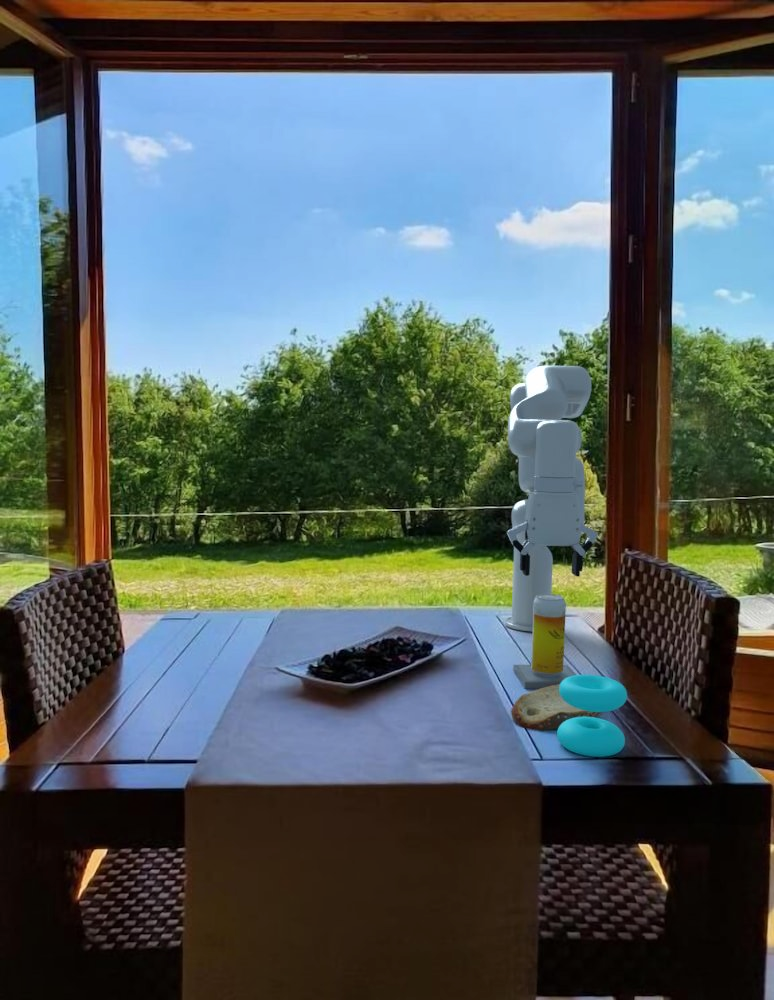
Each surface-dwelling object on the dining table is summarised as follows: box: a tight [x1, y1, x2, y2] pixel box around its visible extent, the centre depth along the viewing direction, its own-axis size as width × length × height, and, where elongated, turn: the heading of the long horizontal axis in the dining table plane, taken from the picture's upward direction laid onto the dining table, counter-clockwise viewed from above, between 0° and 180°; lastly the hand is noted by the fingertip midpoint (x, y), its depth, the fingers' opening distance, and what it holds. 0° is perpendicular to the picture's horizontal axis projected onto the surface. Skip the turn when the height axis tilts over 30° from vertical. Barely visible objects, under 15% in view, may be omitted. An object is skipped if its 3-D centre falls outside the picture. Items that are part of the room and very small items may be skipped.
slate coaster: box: [512, 664, 577, 690], centre depth 149 cm, size 11×11×1 cm
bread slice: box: [510, 684, 602, 732], centre depth 132 cm, size 18×18×4 cm
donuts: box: [556, 674, 628, 758], centre depth 117 cm, size 10×10×10 cm
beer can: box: [530, 593, 567, 677], centre depth 148 cm, size 6×6×15 cm
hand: (550, 574), depth 148 cm, fingers open, 9 cm apart
